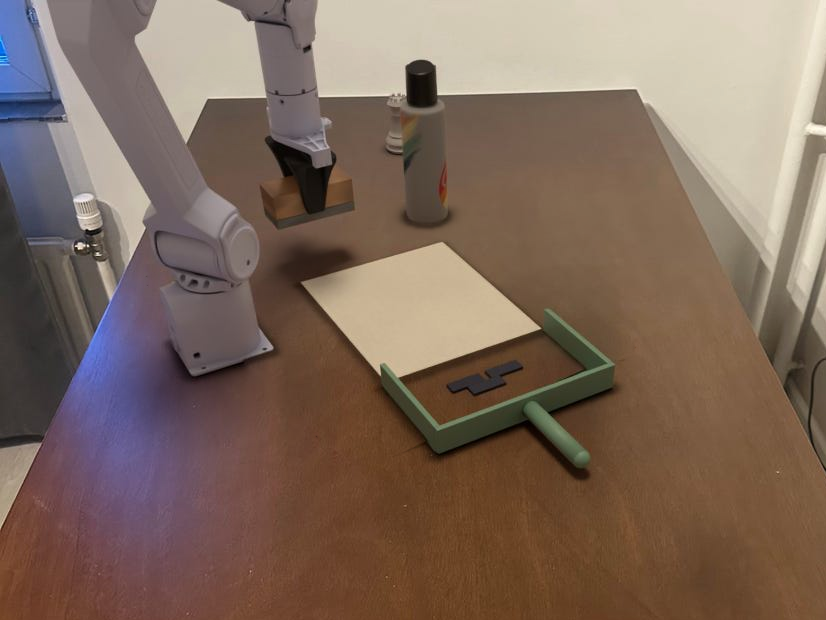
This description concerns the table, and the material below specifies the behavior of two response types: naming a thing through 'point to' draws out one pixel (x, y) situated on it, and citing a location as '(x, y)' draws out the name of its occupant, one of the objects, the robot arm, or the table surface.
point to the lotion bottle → (424, 145)
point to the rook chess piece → (395, 124)
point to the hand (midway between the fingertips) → (307, 203)
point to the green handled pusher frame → (518, 400)
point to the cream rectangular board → (418, 309)
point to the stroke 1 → (464, 383)
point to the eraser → (288, 205)
